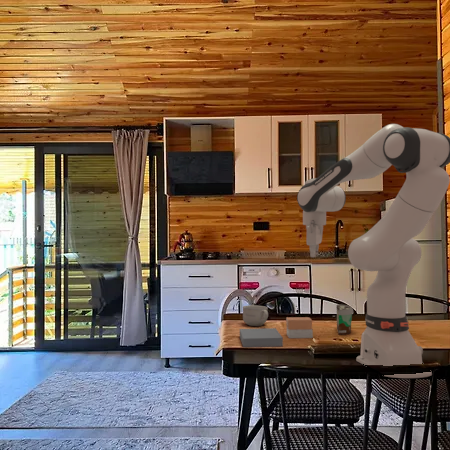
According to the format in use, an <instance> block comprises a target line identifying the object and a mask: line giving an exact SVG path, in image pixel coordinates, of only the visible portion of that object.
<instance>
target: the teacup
mask: <svg viewBox="0 0 450 450" xmlns="http://www.w3.org/2000/svg"><path fill="white" fill-rule="evenodd" d="M268 309H269V307H267V306H264V305H253V304H252V305H250V304H249V305H244V306H243V305H242V321H243V322H244V323H245V324H246V325H248V326H250V327H261V326H264V324H265V323H267V320H268V317H269V312H268Z"/></svg>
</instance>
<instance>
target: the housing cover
mask: <svg viewBox="0 0 450 450" xmlns="http://www.w3.org/2000/svg"><path fill="white" fill-rule="evenodd" d="M285 320H286V323H285V324H286V329H287V328H288V329H313V320H312V318H311V317H308V316H305V317H301V316H300V317H299V316H298V317H297V316H296V317H293V316H291V317H288V316H287V317H286V319H285Z"/></svg>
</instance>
